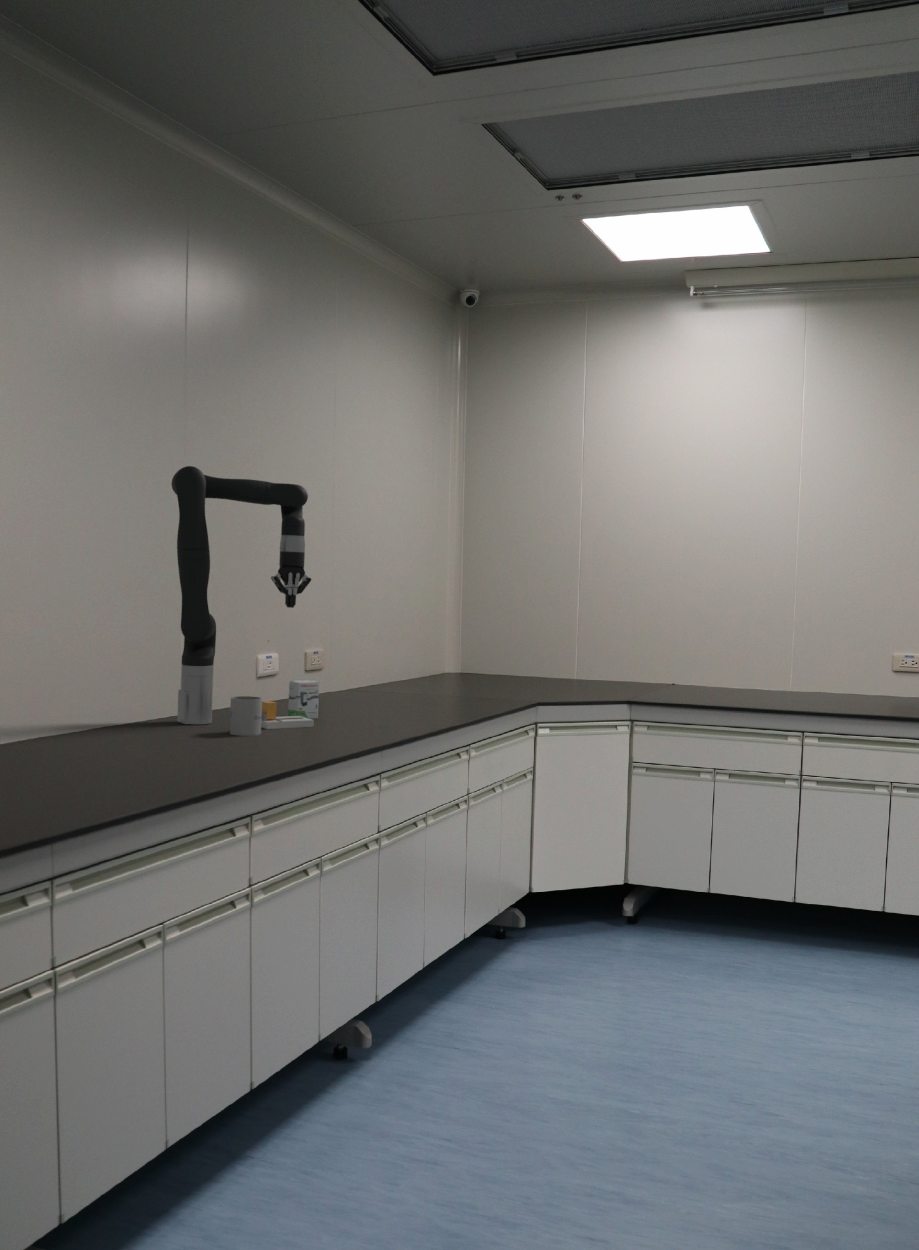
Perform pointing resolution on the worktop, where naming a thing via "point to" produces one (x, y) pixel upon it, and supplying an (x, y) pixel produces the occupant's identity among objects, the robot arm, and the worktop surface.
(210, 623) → the robot arm
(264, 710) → the orange block
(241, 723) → the mug
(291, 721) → the console
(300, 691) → the ink box
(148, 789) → the worktop surface
